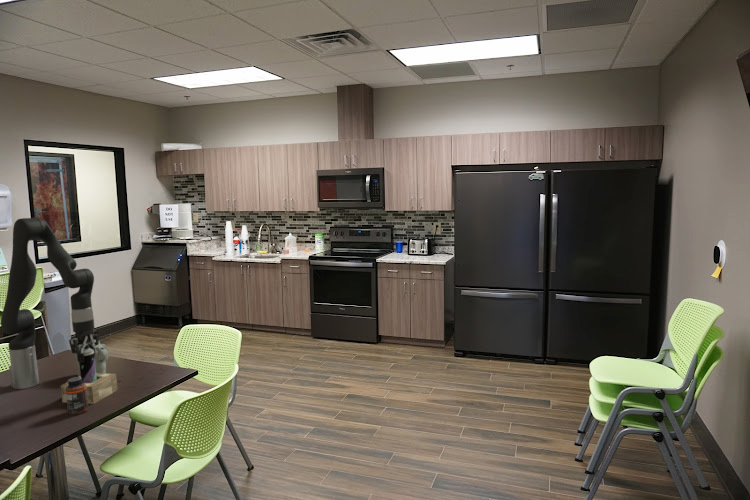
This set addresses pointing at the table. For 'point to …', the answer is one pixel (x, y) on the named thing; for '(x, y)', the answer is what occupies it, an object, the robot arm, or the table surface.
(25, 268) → the robot arm
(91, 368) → the spray can
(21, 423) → the table surface
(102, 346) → the grey animal cookie jar
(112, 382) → the tube block
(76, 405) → the supplement bottle
